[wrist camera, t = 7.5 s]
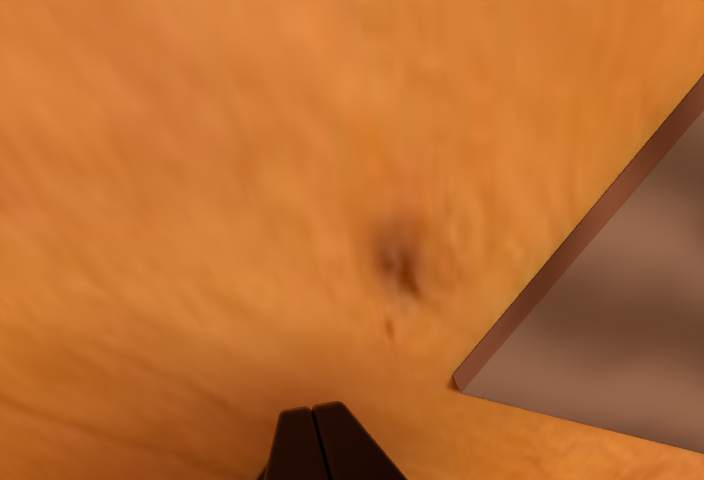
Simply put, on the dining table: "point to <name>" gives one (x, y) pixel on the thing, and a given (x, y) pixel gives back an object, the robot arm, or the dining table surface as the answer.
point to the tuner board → (617, 305)
